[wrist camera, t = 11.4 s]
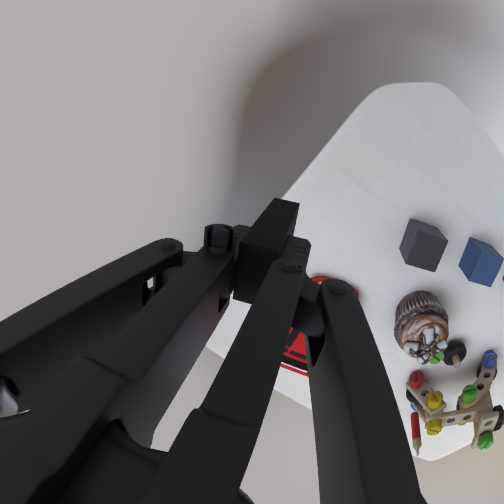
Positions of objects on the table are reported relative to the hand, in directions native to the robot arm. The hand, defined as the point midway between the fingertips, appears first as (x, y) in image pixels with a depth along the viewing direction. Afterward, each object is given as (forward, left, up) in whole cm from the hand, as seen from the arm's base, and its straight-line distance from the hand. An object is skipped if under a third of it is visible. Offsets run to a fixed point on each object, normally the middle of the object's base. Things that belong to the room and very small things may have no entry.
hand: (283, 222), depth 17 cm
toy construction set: (+41, +34, -25) cm, 59 cm away
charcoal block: (+9, +17, -24) cm, 31 cm away
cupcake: (+22, +20, -25) cm, 39 cm away
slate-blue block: (+11, +28, -24) cm, 39 cm away
